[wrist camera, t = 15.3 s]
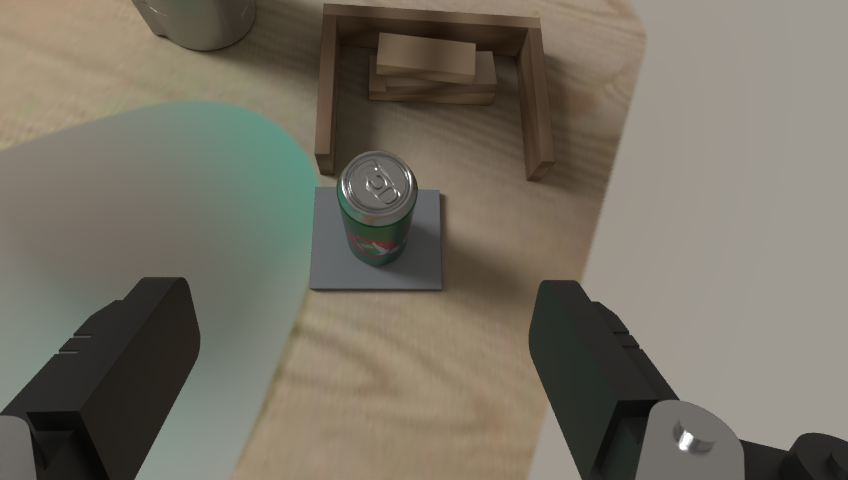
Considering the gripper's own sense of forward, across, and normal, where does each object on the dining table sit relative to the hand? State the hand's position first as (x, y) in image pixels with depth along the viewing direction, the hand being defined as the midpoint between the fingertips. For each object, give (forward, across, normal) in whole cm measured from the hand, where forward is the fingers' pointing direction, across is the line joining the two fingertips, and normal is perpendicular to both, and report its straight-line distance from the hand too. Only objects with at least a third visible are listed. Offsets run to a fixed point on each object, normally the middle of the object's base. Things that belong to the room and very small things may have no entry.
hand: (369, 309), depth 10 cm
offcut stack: (+37, -5, +1) cm, 37 cm away
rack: (+35, -5, +3) cm, 35 cm away
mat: (+26, 0, +12) cm, 28 cm away
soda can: (+25, 0, +12) cm, 28 cm away
